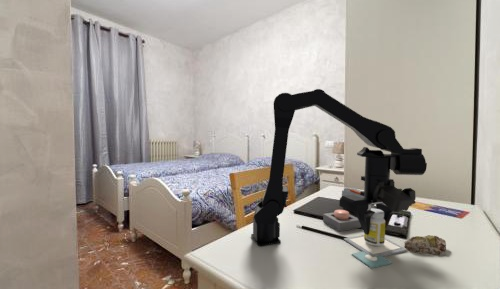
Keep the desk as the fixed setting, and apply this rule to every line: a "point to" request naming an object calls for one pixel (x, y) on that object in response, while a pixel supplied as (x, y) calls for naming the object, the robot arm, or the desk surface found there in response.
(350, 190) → the grey rounded slab
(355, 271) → the desk surface
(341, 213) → the button
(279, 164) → the robot arm
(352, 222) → the button housing
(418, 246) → the mineral rock
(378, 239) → the supplement bottle
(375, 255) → the sketch pad
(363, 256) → the card
